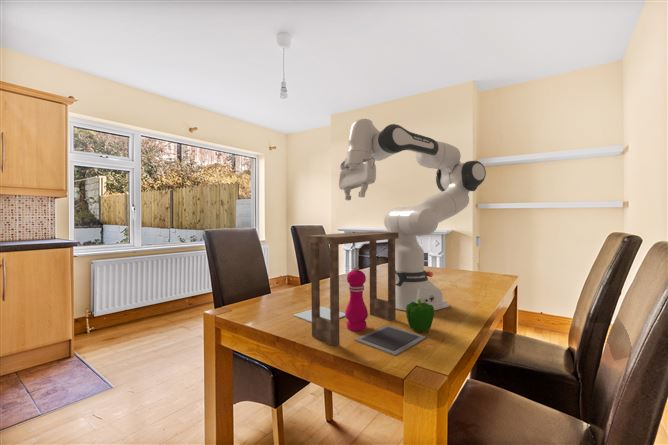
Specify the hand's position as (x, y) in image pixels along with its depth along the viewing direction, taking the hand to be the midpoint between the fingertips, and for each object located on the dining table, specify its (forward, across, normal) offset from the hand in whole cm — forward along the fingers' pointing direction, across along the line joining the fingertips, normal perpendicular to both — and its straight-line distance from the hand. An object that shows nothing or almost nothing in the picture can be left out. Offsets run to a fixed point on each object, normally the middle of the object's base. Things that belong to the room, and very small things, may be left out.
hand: (354, 198), depth 111 cm
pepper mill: (+44, -10, 0) cm, 45 cm away
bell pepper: (+42, -21, -16) cm, 49 cm away
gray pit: (+44, -23, -4) cm, 49 cm away
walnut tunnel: (+43, -10, 0) cm, 45 cm away
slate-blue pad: (+43, +6, +5) cm, 44 cm away
